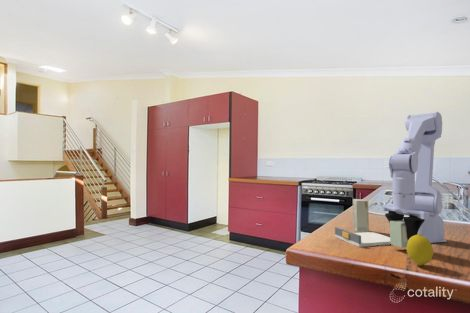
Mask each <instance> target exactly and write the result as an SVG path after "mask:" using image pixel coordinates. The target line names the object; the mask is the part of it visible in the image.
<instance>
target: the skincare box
mask: <svg viewBox="0 0 470 313" xmlns="http://www.w3.org/2000/svg"><path fill="white" fill-rule="evenodd" d="M352 216H353V217H352V221H353V222H352V227H353V231H355V233H362V232H370V231H369V230H370V228H369V227H370V226H369V222H370V221H369V201H368V200H366V199H362V198H361V199H359V198H353V199H352Z"/></svg>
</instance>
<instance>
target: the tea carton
mask: <svg viewBox="0 0 470 313" xmlns="http://www.w3.org/2000/svg"><path fill="white" fill-rule="evenodd" d="M389 237H390V244H391V246H395V247H399V248H407V243H408V240H407V230H406V225H405V222H404V219H403V220H399V221H390V223H389Z"/></svg>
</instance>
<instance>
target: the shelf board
mask: <svg viewBox="0 0 470 313" xmlns="http://www.w3.org/2000/svg"><path fill="white" fill-rule="evenodd" d="M334 238H337V239H339V240H342V241H343V242H346V243H348V244H351V245H353V246H355V247H358V248H362V247H376V246H377V245H378V246H388V245H390V236H387V235H383V234H381V233H378V232H375V231H369V232H362V233H357V232H353V231H352V232H351V231H348V230H346V229H344V228H341V227H337V226H335V227H334Z"/></svg>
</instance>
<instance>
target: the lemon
mask: <svg viewBox="0 0 470 313" xmlns="http://www.w3.org/2000/svg"><path fill="white" fill-rule="evenodd" d="M432 244H433V243H431V242H430V241H429V240H428V239H427V238H426V237H424V236H422V235H421V234H417V235H414V236H412V237H411V238H409V240H408V243H407V247H406V254H407V256H408V257H409V259H410V260H412V261H413V262H414V263H415V264H416V265H418V267H419V266H420V267H422V266H423V265H425V264H428V263H430V262H431V260H432V259H433V257H434V248H433V245H432Z"/></svg>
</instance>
